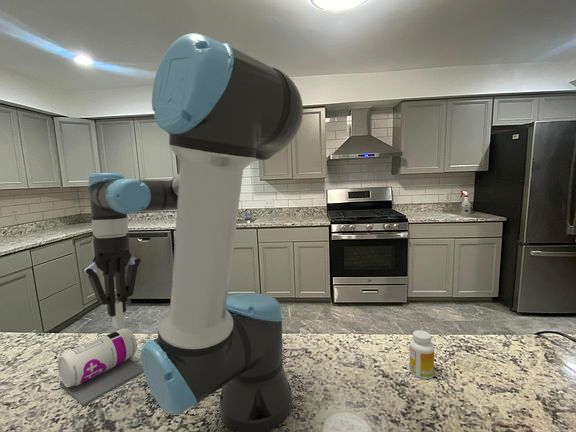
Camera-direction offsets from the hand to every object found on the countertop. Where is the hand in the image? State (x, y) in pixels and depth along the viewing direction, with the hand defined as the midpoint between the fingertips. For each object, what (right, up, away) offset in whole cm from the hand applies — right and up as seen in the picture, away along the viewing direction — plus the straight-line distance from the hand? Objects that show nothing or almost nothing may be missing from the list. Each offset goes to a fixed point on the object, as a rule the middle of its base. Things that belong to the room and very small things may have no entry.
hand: (118, 326), depth 71 cm
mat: (-2, -12, -2) cm, 12 cm away
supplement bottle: (+76, -10, -4) cm, 77 cm away
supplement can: (0, -6, +6) cm, 9 cm away
